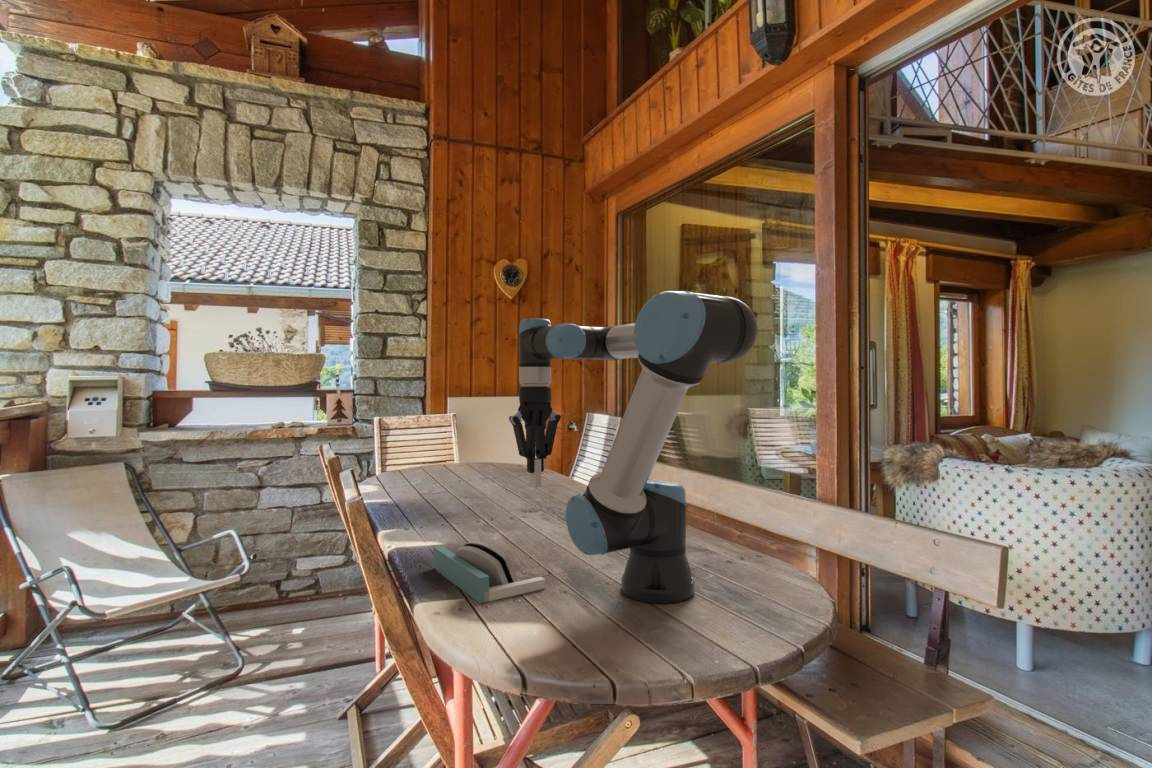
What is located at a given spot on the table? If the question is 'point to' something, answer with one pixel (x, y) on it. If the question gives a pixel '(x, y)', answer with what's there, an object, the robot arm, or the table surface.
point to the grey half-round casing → (489, 562)
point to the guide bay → (478, 578)
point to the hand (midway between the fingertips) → (535, 486)
